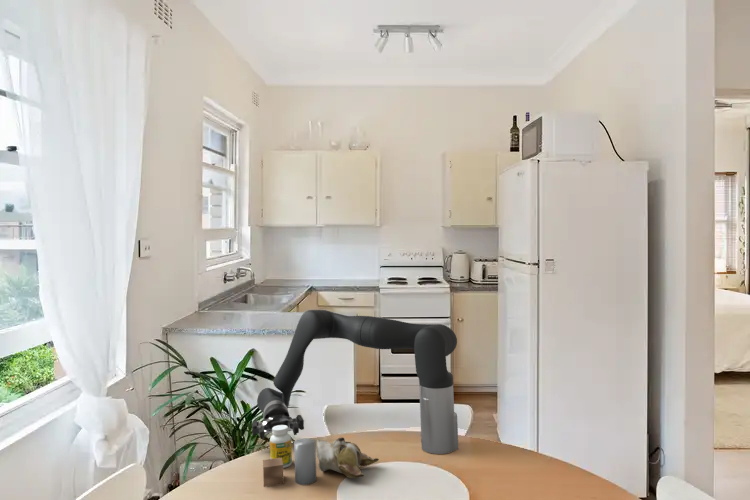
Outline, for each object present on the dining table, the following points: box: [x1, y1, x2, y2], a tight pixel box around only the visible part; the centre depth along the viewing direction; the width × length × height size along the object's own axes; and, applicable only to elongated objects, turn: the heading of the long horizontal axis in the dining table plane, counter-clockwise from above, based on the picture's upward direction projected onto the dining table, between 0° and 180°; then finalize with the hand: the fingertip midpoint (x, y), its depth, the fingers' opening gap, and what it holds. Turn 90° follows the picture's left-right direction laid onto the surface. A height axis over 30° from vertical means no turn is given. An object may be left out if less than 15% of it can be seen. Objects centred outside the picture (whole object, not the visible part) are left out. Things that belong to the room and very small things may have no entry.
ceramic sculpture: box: [315, 437, 379, 479], centre depth 122 cm, size 11×9×15 cm
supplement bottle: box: [269, 425, 293, 469], centre depth 128 cm, size 5×5×10 cm
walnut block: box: [262, 458, 284, 488], centre depth 118 cm, size 4×4×4 cm
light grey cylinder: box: [293, 437, 317, 486], centre depth 118 cm, size 5×5×9 cm
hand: (279, 433), depth 134 cm, fingers open, 8 cm apart
